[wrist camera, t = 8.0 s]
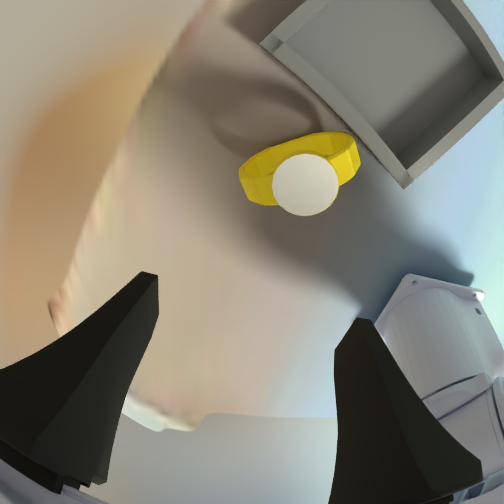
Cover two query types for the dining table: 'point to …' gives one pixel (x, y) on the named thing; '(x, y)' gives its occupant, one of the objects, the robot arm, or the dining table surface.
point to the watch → (301, 172)
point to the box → (395, 73)
